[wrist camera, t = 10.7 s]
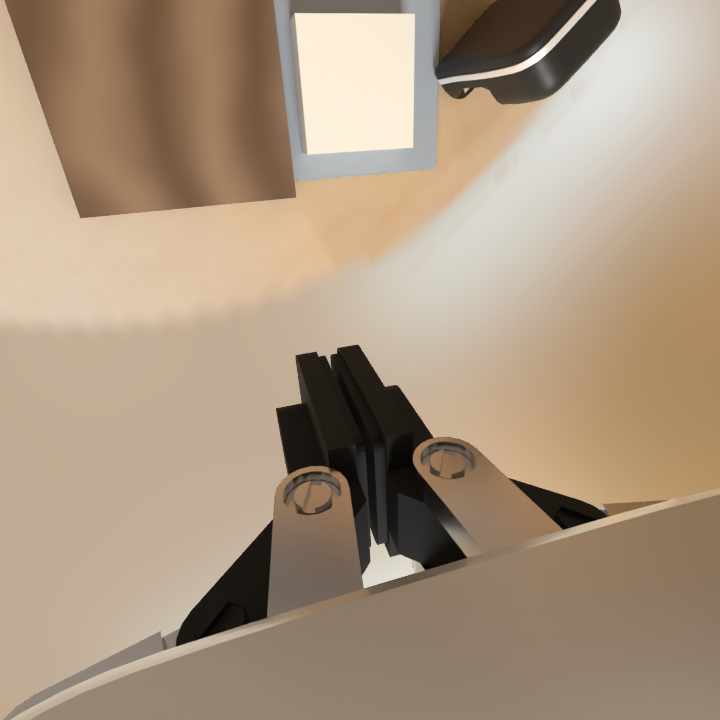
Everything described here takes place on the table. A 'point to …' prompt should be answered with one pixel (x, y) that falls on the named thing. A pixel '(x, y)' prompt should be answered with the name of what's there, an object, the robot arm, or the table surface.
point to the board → (160, 100)
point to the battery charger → (527, 47)
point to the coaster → (354, 81)
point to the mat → (426, 59)
